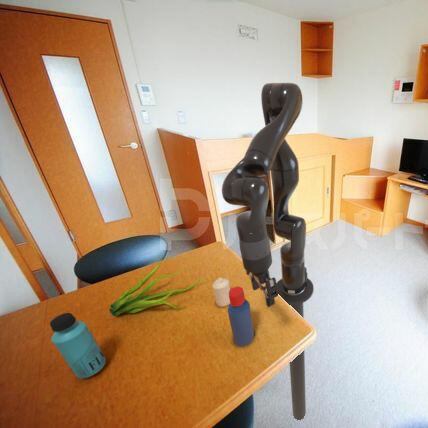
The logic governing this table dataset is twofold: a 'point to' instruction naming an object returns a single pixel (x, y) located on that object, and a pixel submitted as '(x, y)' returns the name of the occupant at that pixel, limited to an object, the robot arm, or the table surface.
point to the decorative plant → (143, 296)
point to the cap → (236, 296)
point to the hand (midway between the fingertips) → (263, 296)
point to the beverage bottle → (77, 345)
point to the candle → (221, 291)
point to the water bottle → (241, 323)
